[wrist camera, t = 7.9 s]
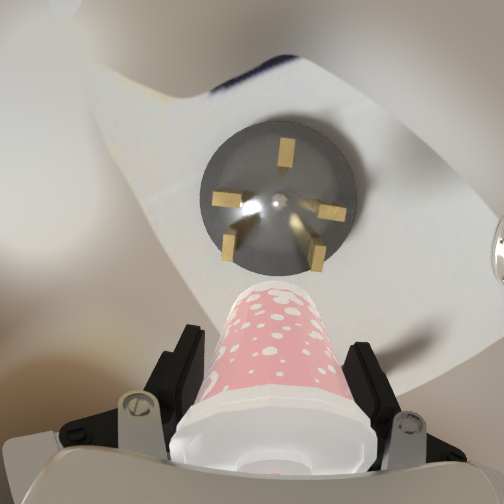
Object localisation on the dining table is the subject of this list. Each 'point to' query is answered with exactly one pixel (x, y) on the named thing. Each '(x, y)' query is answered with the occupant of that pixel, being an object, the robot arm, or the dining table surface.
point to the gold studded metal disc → (278, 199)
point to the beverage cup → (275, 395)
